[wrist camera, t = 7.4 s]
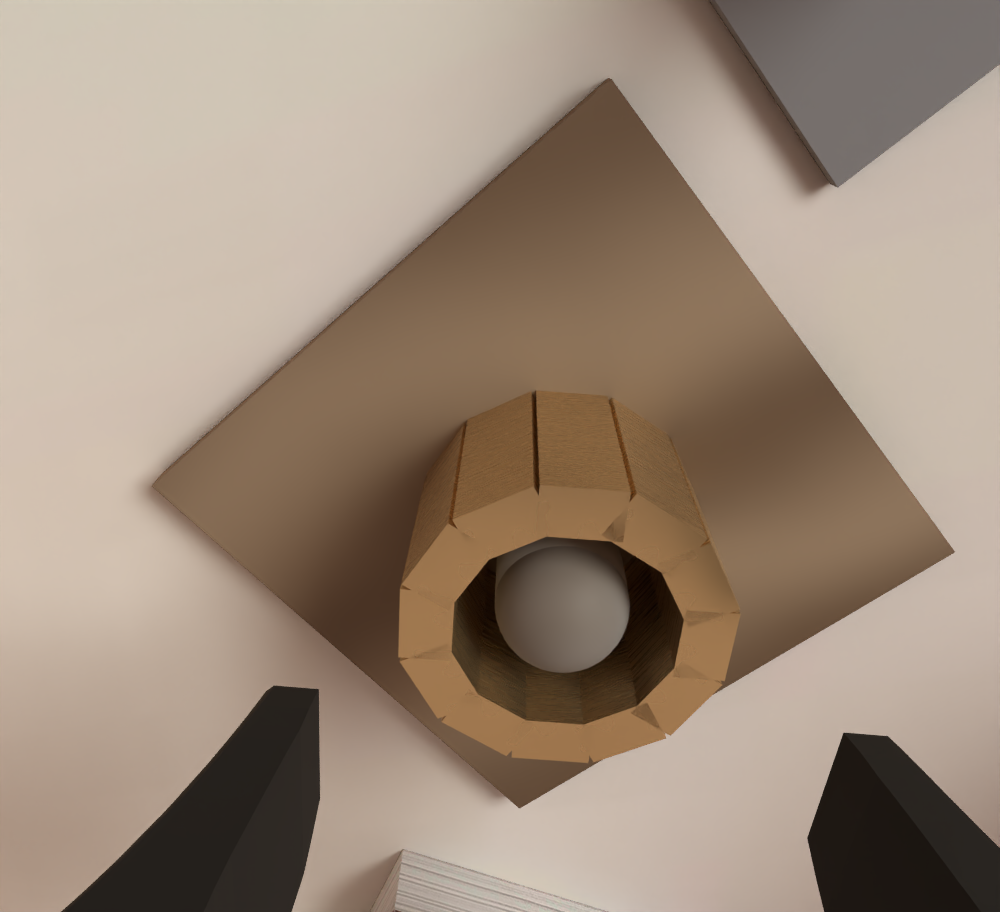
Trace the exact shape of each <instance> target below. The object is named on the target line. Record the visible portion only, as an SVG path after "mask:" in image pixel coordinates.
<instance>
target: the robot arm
mask: <svg viewBox="0 0 1000 912" xmlns="http://www.w3.org/2000/svg"><path fill="white" fill-rule="evenodd" d="M319 801H320V765H319V689H308V688H296V687H284V686H273V687H272V688H270V689H269V690H267V691H266V692H265V694H264V695H263V696H262V697H261V699H260V700H259V701H258V703H257V704H256V705H255V707H254V708H253V709H252V711H251V712H250V713H249V714H248V716H247V717H246V718H245V720H244V721H243V722H242V723H241V725H240V726H239V727H238V728H237V730H236V731H235V732H234V733H233V734H232V736H231V737H230V738H229V739H228V741H227V742H226V743H225V744H224V745H223V747H222V748H221V749H220V750H219V751H218V752H217V754H216V755H215V756H214V757H213V758H212V760H211V761H210V762H209V763H208V764H207V765H206V766H205V768H204V769H203V770H202V771H201V772H200V773H199V774H198V775H197V777H196V778H195V779H194V780H193V781H192V782H191V783H190V784H189V786H188V787H187V788H186V789H185V790H184V791H183V792H182V793H181V794H180V796H179V797H178V798H177V799H176V800H175V801H174V802H173V803H172V804H171V806H170V807H169V808H168V809H167V810H166V811H165V812H164V813H163V814H162V815H161V816H160V817H159V818H158V819H157V820H156V821H155V822H154V823H153V824H152V825H151V826H150V827H149V828H148V829H147V830H146V831H145V832H144V833H143V834H142V835H141V836H140V837H139V838H138V839H137V840H136V842H135V843H134V844H133V845H132V846H131V847H130V848H129V849H128V850H127V851H126V852H125V853H124V854H123V855H122V856H121V857H120V858H119V859H118V860H117V861H116V862H115V863H114V864H113V865H112V866H111V867H109V868H108V869H107V870H106V871H105V872H104V873H103V874H102V875H101V876H100V877H99V878H98V879H97V880H96V881H95V882H94V883H93V884H91V885H90V886H89V887H88V888H87V889H86V890H85V891H84V892H83V893H82V894H81V895H79V896H78V897H77V898H76V899H75V900H74V901H73V902H72V903H71V904H69V905H68V906H67V907H66V908H65V909H64V910H63V911H61V912H291V911H292V908H293V905H294V902H295V899H296V896H297V893H298V890H299V887H300V884H301V881H302V877H303V874H304V870H305V866H306V861H307V857H308V852H309V848H310V843H311V839H312V834H313V829H314V824H315V820H316V815H317V810H318V805H319ZM808 843H809V848H810V852H811V857H812V861H813V866H814V871H815V875H816V880H817V884H818V888H819V892H820V896H821V900H822V904H823V908H824V912H1000V848H999V847H998V846H997V845H996V844H995V843H994V842H993V841H992V840H991V839H990V838H989V837H988V836H987V835H986V834H985V833H984V832H983V831H982V830H981V829H980V828H979V827H978V826H977V825H976V824H975V823H974V822H973V821H972V820H971V819H970V818H969V817H968V816H967V815H966V814H965V813H964V812H963V811H962V810H961V809H960V808H959V807H958V806H957V805H956V804H955V803H954V802H953V801H952V800H951V799H950V798H949V797H948V796H947V795H946V794H945V793H944V792H943V791H942V790H941V789H940V788H939V787H938V786H937V785H936V784H935V783H934V781H933V780H932V779H931V778H930V777H929V776H928V775H927V774H926V773H925V772H924V771H923V770H922V769H921V768H920V767H919V766H918V765H917V764H916V763H915V762H914V761H913V760H912V759H911V758H910V757H909V756H908V755H907V754H906V753H905V752H904V751H903V750H902V749H901V748H900V747H899V746H897V745H896V744H895V743H894V742H893V741H892V740H891V739H890V738H889V737H888V736H878V735H866V734H853V733H843V736H842V739H841V742H840V745H839V748H838V751H837V754H836V756H835V759H834V762H833V765H832V768H831V771H830V774H829V777H828V780H827V783H826V786H825V788H824V791H823V794H822V797H821V800H820V803H819V806H818V809H817V812H816V815H815V817H814V820H813V823H812V826H811V829H810V832H809V835H808Z"/></svg>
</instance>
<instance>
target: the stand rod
mask: <svg viewBox="0 0 1000 912" xmlns="http://www.w3.org/2000/svg"><path fill="white" fill-rule="evenodd" d="M709 1H710V2H711V4H712V5H713V7H714V8H715V10H716V11H717V13H718V14H719V16H720V17H721V19H722V20H723V22H724V23H725V25H726V26H727V28H728V29H729V31H730V32H731V34H732V35H733V37H734V39H735V40H736V42H737V43H738V45H739V46H740V48H741V49H742V51H743V52H744V54H745V55H746V57H747V58H748V60H749V61H750V63H751V64H752V66H753V67H754V69H755V70H756V72H757V73H758V75H759V76H760V78H761V79H762V81H763V82H764V84H765V86H766V87H767V89H768V90H769V92H770V93H771V95H772V96H773V98H774V99H775V101H776V102H777V104H778V105H779V107H780V108H781V110H782V111H783V113H784V114H785V116H786V117H787V119H788V120H789V122H790V123H791V125H792V126H793V128H794V129H795V131H796V133H797V134H798V136H799V137H800V139H801V140H802V142H803V143H804V145H805V146H806V148H807V149H808V151H809V152H810V154H811V155H812V157H813V158H814V160H815V161H816V163H817V164H818V166H819V167H820V169H821V170H822V172H823V173H824V175H825V176H826V178H827V180H828V181H829V183H830V184H831V185H834V186H836V187H839V186H840V185H842V184H843V183H844V182H846V181H847V180H848V179H850V178H851V177H852V176H853V175H855V174H856V173H857V172H859V171H860V170H861V169H863V168H864V167H865V166H867V165H868V164H869V163H871V162H872V161H873V160H874V159H876V158H877V157H878V156H880V155H881V154H882V153H884V152H885V151H886V150H888V149H889V148H890V147H892V146H893V145H894V144H895V143H897V142H898V141H899V140H901V139H902V138H903V137H905V136H906V135H907V134H909V133H910V132H911V131H913V130H914V129H915V128H916V127H918V126H919V125H920V124H922V123H923V122H924V121H926V120H927V119H928V118H930V117H931V116H932V115H934V114H935V113H936V112H938V111H939V110H940V109H941V108H943V107H944V106H945V105H947V104H948V103H949V102H951V101H952V100H953V99H955V98H956V97H957V96H959V95H960V94H961V93H962V92H964V91H965V90H966V89H968V88H969V87H970V86H972V85H973V84H974V83H976V82H977V81H978V80H980V79H981V78H982V77H983V76H985V75H986V74H987V73H989V72H990V71H991V70H993V69H994V68H995V67H997V66H998V65H999V64H1000V0H709Z"/></svg>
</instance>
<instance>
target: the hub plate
mask: <svg viewBox="0 0 1000 912" xmlns="http://www.w3.org/2000/svg"><path fill="white" fill-rule="evenodd" d="M536 390H538V391H551V392H564V393H578V394H591V395H604V396H608V400H610V399H611V398H614V399H615V400H617V401H618V402H620V403H621V404H623V405H624V406H626V407H627V408H629V409H630V410H632V411H633V412H635V413H636V414H638V415H639V416H641V417H642V418H644V419H645V420H647V421H648V422H650V423H651V424H653V425H654V426H656V427H657V428H659V429H660V430H662V431H663V432H665V433H666V434H668V436H669V438H671V439H672V442H673V444H674V446H675V449H676V451H677V453H678V455H679V458H680V460H681V462H682V465H683V467H684V469H685V471H686V474H687V476H688V478H689V481H690V483H691V485H692V487H693V490H694V492H695V494H696V497H697V500H698V502H699V505H700V507H701V510H702V512H703V515H704V518H705V520H706V523H707V525H708V528H709V530H710V533H711V536H712V538H713V541H714V543H715V546H716V548H717V551H718V554H719V556H720V559H721V561H722V564H723V566H724V569H725V572H726V574H727V577H728V579H729V582H730V584H731V587H732V590H733V592H734V595H735V597H736V600H737V602H738V605H739V608H740V610H739V611H740V614H741V615H740V619H739V623H738V627H737V632H736V636H735V640H734V644H733V648H732V653H731V657H730V661H729V665H728V669H727V673H726V678H725V681H721V683H722V686H721V687H720V688H719V689H718V690H717V691H716V692H715V693H717V692H718V691H720V690H722V689H723V688H725V687H727V686H728V685H730V684H732V683H734V682H735V681H737V680H739V679H740V678H742V677H744V676H745V675H747V674H749V673H751V672H752V671H754V670H756V669H757V668H759V667H761V666H762V665H764V664H766V663H768V662H769V661H771V660H773V659H774V658H776V657H778V656H779V655H781V654H783V653H785V652H786V651H788V650H790V649H791V648H793V647H795V646H796V645H798V644H800V643H801V642H803V641H805V640H807V639H808V638H810V637H812V636H813V635H815V634H817V633H818V632H820V631H822V630H824V629H825V628H827V627H829V626H830V625H832V624H834V623H835V622H837V621H839V620H841V619H842V618H844V617H846V616H847V615H849V614H851V613H852V612H854V611H856V610H858V609H859V608H861V607H863V606H864V605H866V604H868V603H869V602H871V601H873V600H875V599H876V598H878V597H880V596H881V595H883V594H885V593H886V592H888V591H890V590H892V589H893V588H895V587H897V586H898V585H900V584H902V583H903V582H905V581H907V580H909V579H910V578H912V577H914V576H915V575H917V574H919V573H920V572H922V571H924V570H926V569H927V568H929V567H931V566H932V565H934V564H936V563H937V562H939V561H941V560H943V559H944V558H946V557H948V556H949V555H951V554H953V553H954V552H955V551H954V550H953V549H952V547H951V546H950V544H949V543H948V542H947V540H946V539H945V538H944V536H943V535H942V533H941V532H940V531H939V529H938V528H937V527H936V525H935V524H934V522H933V521H932V520H931V518H930V517H929V516H928V514H927V513H926V511H925V510H924V509H923V507H922V506H921V505H920V503H919V502H918V500H917V499H916V498H915V496H914V495H913V494H912V492H911V491H910V489H909V488H908V487H907V485H906V484H905V483H904V481H903V480H902V478H901V477H900V476H899V474H898V473H897V472H896V470H895V469H894V467H893V466H892V465H891V463H890V462H889V461H888V459H887V458H886V456H885V455H884V454H883V452H882V451H881V450H880V448H879V447H878V445H877V444H876V443H875V441H874V440H873V438H872V437H871V436H870V434H869V433H868V432H867V430H866V429H865V427H864V426H863V425H862V423H861V422H860V421H859V419H858V418H857V416H856V415H855V414H854V412H853V411H852V410H851V408H850V407H849V405H848V404H847V403H846V401H845V400H844V399H843V397H842V396H841V394H840V393H839V392H838V390H837V389H836V388H835V386H834V385H833V383H832V382H831V381H830V379H829V378H828V377H827V375H826V374H825V372H824V371H823V370H822V368H821V367H820V366H819V364H818V363H817V361H816V360H815V359H814V357H813V356H812V355H811V353H810V352H809V350H808V349H807V348H806V346H805V345H804V344H803V342H802V341H801V339H800V338H799V337H798V335H797V334H796V333H795V331H794V330H793V328H792V327H791V326H790V324H789V323H788V322H787V320H786V319H785V317H784V316H783V315H782V313H781V312H780V311H779V309H778V308H777V306H776V305H775V304H774V302H773V301H772V300H771V298H770V297H769V295H768V294H767V293H766V291H765V290H764V289H763V287H762V286H761V284H760V283H759V282H758V280H757V279H756V278H755V276H754V275H753V273H752V272H751V271H750V269H749V268H748V266H747V265H746V264H745V262H744V261H743V260H742V258H741V257H740V255H739V254H738V253H737V251H736V250H735V249H734V247H733V246H732V244H731V243H730V242H729V240H728V239H727V238H726V236H725V235H724V233H723V232H722V231H721V229H720V228H719V227H718V225H717V224H716V222H715V221H714V220H713V218H712V217H711V216H710V214H709V213H708V211H707V210H706V209H705V207H704V206H703V205H702V203H701V202H700V200H699V199H698V198H697V196H696V195H695V194H694V192H693V191H692V189H691V188H690V187H689V185H688V184H687V183H686V181H685V180H684V178H683V177H682V176H681V174H680V173H679V172H678V170H677V169H676V167H675V166H674V165H673V163H672V162H671V161H670V159H669V158H668V156H667V155H666V154H665V152H664V151H663V150H662V148H661V147H660V145H659V144H658V143H657V141H656V140H655V139H654V137H653V136H652V134H651V133H650V132H649V130H648V129H647V128H646V126H645V125H644V123H643V122H642V121H641V119H640V118H639V117H638V115H637V114H636V112H635V111H634V110H633V108H632V107H631V106H630V104H629V103H628V101H627V100H626V99H625V97H624V96H623V94H622V93H621V92H620V90H619V89H618V88H617V86H616V85H615V83H614V82H613V81H612V79H609V78H608V79H606V80H605V81H604V82H603V83H602V84H601V85H600V86H599V87H597V88H596V89H595V90H594V91H593V92H592V93H591V94H590V95H588V96H587V97H586V98H585V99H584V100H583V101H582V102H581V103H579V104H578V105H577V106H576V107H575V108H574V109H573V110H572V111H570V112H569V113H568V114H567V115H566V116H565V117H564V118H563V119H561V120H560V121H559V122H558V123H557V124H556V125H555V126H553V127H552V128H551V129H550V130H549V131H548V132H547V133H546V134H544V135H543V136H542V137H541V138H540V139H539V140H538V141H537V142H535V143H534V144H533V145H532V146H531V147H530V148H529V149H528V150H526V151H525V152H524V153H523V154H522V155H521V156H520V157H519V158H517V159H516V160H515V161H514V162H513V163H512V164H511V165H510V166H508V167H507V168H506V169H505V170H504V171H503V172H502V173H500V174H499V175H498V176H497V177H496V178H495V179H494V180H493V181H491V182H490V183H489V184H488V185H487V186H486V187H485V188H484V189H482V190H481V191H480V192H479V193H478V194H477V195H476V196H475V197H473V198H472V199H471V200H470V201H469V202H468V203H467V204H466V205H464V206H463V207H462V208H461V209H460V210H459V211H458V212H457V213H455V214H454V215H453V216H452V217H451V218H450V219H449V220H448V221H446V222H445V223H444V224H443V225H442V226H441V227H440V228H438V229H437V230H436V231H435V232H434V233H433V234H432V235H431V236H429V237H428V238H427V239H426V240H425V241H424V242H423V243H422V244H420V245H419V246H418V247H417V248H416V249H415V250H414V251H413V252H411V253H410V254H409V255H408V256H407V257H406V258H405V259H404V260H402V261H401V262H400V263H399V264H398V265H397V266H396V267H395V268H393V269H392V270H391V271H390V272H389V273H388V274H387V275H385V276H384V277H383V278H382V279H381V280H380V281H379V282H378V283H376V284H375V285H374V286H373V287H372V288H371V289H370V290H369V291H367V292H366V293H365V294H364V295H363V296H362V297H361V298H360V299H358V300H357V301H356V302H355V303H354V304H353V305H352V306H351V307H349V308H348V309H347V310H346V311H345V312H344V313H343V314H342V315H340V316H339V317H338V318H337V319H336V320H335V321H334V322H332V323H331V324H330V325H329V326H328V327H327V328H326V329H325V330H323V331H322V332H321V333H320V334H319V335H318V336H317V337H316V338H314V339H313V340H312V341H311V342H310V343H309V344H308V345H307V346H305V347H304V348H303V349H302V350H301V351H300V352H299V353H298V354H296V355H295V356H294V357H293V358H292V359H291V360H290V361H289V362H287V363H286V364H285V365H284V366H283V367H282V368H281V369H279V370H278V371H277V372H276V373H275V374H274V375H273V376H272V377H270V378H269V379H268V380H267V381H266V382H265V383H264V384H263V385H261V386H260V387H259V388H258V389H257V390H256V391H255V392H254V393H252V394H251V395H250V396H249V397H248V398H247V399H246V400H245V401H243V402H242V403H241V404H240V405H239V406H238V407H237V408H236V409H234V410H233V411H232V412H231V413H230V414H229V415H228V416H227V417H225V418H224V419H223V420H222V421H221V422H220V423H219V424H217V425H216V426H215V427H214V428H213V429H212V430H211V431H210V432H208V433H207V434H206V435H205V436H204V437H203V438H202V439H201V440H199V441H198V442H197V443H196V444H195V445H194V446H193V447H192V448H190V449H189V450H188V451H187V452H186V453H185V454H184V455H183V456H181V457H180V458H179V459H178V460H177V461H176V462H175V463H174V464H172V465H171V466H170V467H169V468H168V469H167V470H166V471H164V472H163V473H162V475H161V476H160V477H159V478H158V479H157V480H156V482H155V483H154V484H153V485H152V487H153V488H155V489H156V490H157V491H158V492H159V493H160V494H161V495H163V496H164V497H165V498H166V499H167V500H168V501H169V502H170V503H172V504H173V505H174V506H175V507H176V508H177V509H178V510H180V511H181V512H182V513H183V514H184V515H185V516H186V517H188V518H189V519H190V520H191V521H192V522H193V523H194V524H196V525H197V526H198V527H199V528H200V529H201V530H202V531H204V532H205V533H206V534H207V535H208V536H209V537H210V538H212V539H213V540H214V541H215V542H216V543H217V544H218V545H220V546H221V547H222V548H223V549H224V550H225V551H226V552H228V553H229V554H230V555H231V556H232V557H233V558H234V559H236V560H237V561H238V562H239V563H240V564H241V565H242V566H243V567H245V568H246V569H247V570H248V571H249V572H250V573H251V574H253V575H254V576H255V577H256V578H257V579H258V580H259V581H261V582H262V583H263V584H264V585H265V586H266V587H267V588H269V589H270V590H271V591H272V592H273V593H274V594H275V595H277V596H278V597H279V598H280V599H281V600H282V601H283V602H285V603H286V604H287V605H288V606H289V607H290V608H291V609H293V610H294V611H295V612H296V613H297V614H298V615H299V616H301V617H302V618H303V619H304V620H305V621H306V622H307V623H308V624H310V625H311V626H312V627H313V628H314V629H315V630H316V631H318V632H319V633H320V634H321V635H322V636H323V637H324V638H326V639H327V640H328V641H329V642H330V643H331V644H332V645H334V646H335V647H336V648H337V649H338V650H339V651H340V652H342V653H343V654H344V655H345V656H346V657H347V658H348V659H350V660H351V661H352V662H353V663H354V664H355V665H356V666H358V667H359V668H360V669H361V670H362V671H363V672H364V673H366V674H367V675H368V676H369V677H370V678H371V679H372V680H373V681H375V682H376V683H377V684H378V685H379V686H380V687H381V688H383V689H384V690H385V691H386V692H387V693H388V694H389V695H391V696H392V697H393V698H394V699H395V700H396V701H397V702H399V703H400V704H401V705H402V706H403V707H404V708H405V709H407V710H408V711H409V712H410V713H411V714H412V715H413V716H415V717H416V718H417V719H418V720H419V721H420V722H421V723H423V724H424V725H425V726H426V727H427V728H428V729H429V730H431V731H432V732H433V733H434V734H435V735H436V736H437V737H439V738H440V739H441V740H442V741H443V742H444V743H445V744H446V745H448V746H449V747H450V748H451V749H452V750H453V751H454V752H456V753H457V754H458V755H459V756H460V757H461V758H462V759H464V760H465V761H466V762H467V763H468V764H469V765H470V766H472V767H473V768H474V769H475V770H476V771H477V772H478V773H480V774H481V775H482V776H483V777H484V778H485V779H486V780H488V781H489V782H490V783H491V784H492V785H493V786H494V787H496V788H497V789H498V790H499V791H500V792H501V793H502V794H504V795H505V796H506V797H507V798H508V799H509V800H510V801H511V802H513V803H514V804H515V805H516V806H517V807H518V808H521V807H523V806H525V805H526V804H528V803H530V802H531V801H533V800H535V799H536V798H538V797H540V796H541V795H543V794H545V793H547V792H548V791H550V790H552V789H553V788H555V787H557V786H558V785H560V784H562V783H564V782H565V781H567V780H569V779H570V778H572V777H574V776H575V775H577V774H579V773H581V772H582V771H584V770H586V769H587V768H589V767H591V766H592V765H594V764H596V763H598V762H599V761H601V760H599V761H596V762H593V761H592V759H591V757H590V755H589V761H588V763H581V762H567V761H553V760H539V759H525V758H511V756H512V751H511V752H510V753H509V754H508V755H507V756H505V755H503V754H501V753H500V752H498V751H496V750H494V749H492V748H490V747H488V746H486V745H484V744H482V743H481V742H479V741H477V740H475V739H473V738H471V737H469V736H467V735H465V734H463V733H461V732H460V731H458V730H456V729H454V728H452V727H450V726H448V725H446V724H444V723H442V722H441V721H442V717H441V718H437V717H436V715H435V714H434V712H433V711H432V709H431V708H430V706H429V705H428V703H427V702H426V700H425V699H424V697H423V696H422V694H421V693H420V691H419V690H418V688H417V687H416V685H415V684H414V682H413V681H412V679H411V678H410V676H409V675H408V673H407V672H406V670H405V669H404V667H403V666H402V664H401V663H400V658H401V657H398V650H399V609H400V587H401V583H402V578H403V574H404V569H405V565H406V561H407V556H408V552H409V547H410V543H411V539H412V534H413V530H414V525H415V521H416V517H417V512H418V508H419V503H420V499H421V495H422V490H423V486H424V481H425V478H426V475H427V473H428V471H429V470H430V468H431V467H432V466H433V464H434V463H435V462H436V460H437V459H438V457H439V456H440V455H441V453H442V452H443V450H444V449H445V448H446V446H447V445H448V443H449V442H450V441H451V439H452V438H453V437H454V435H455V434H456V432H457V431H458V430H459V428H460V427H461V425H462V424H463V423H466V424H467V419H469V418H472V417H474V416H476V415H478V414H481V413H483V412H485V411H487V410H490V409H492V408H494V407H497V406H499V405H501V404H503V403H506V402H508V401H510V400H512V399H515V398H517V397H519V396H521V395H524V394H526V393H528V392H530V391H531V392H532V394H533V396H534V398H535V397H536ZM633 556H634V555H632V554H631V553H629V552H627V551H626V550H624V549H623V548H621V547H619V546H618V545H616V544H614V543H613V542H611V541H599V540H585V539H572V538H559V537H544V538H542V539H539V540H537V541H534V542H532V543H529V544H527V545H524V546H522V547H519V548H517V549H514V550H512V551H509V552H507V553H504V554H502V555H499V556H497V557H494V558H492V559H489V560H488V561H487V563H486V564H485V565H486V567H487V568H488V569H490V570H491V571H493V572H495V573H496V584H495V614H496V619H497V623H498V626H499V629H500V631H501V633H502V636H503V637H504V639H505V641H506V642H507V644H508V645H509V647H510V648H511V649H512V650H513V651H514V652H515V653H516V654H517V655H518V656H519V657H520V658H521V659H523V660H524V661H526V662H527V663H529V664H531V665H533V666H535V667H537V668H539V669H542V670H545V671H550V672H556V673H569V672H576V671H581V670H584V669H587V668H589V667H592V666H593V665H595V664H597V663H599V662H600V661H601V660H603V659H604V658H606V657H607V656H608V655H609V654H610V653H611V652H612V651H613V650H614V648H615V647H616V646H617V644H618V643H619V641H620V640H621V638H622V636H623V634H624V632H625V629H626V627H627V623H628V619H629V611H630V600H629V592H628V586H627V581H626V576H625V571H624V566H625V565H626V564H627V563H628V562H629V561H630V559H631V558H632V557H633ZM715 693H714V694H715ZM602 760H603V759H602Z"/></svg>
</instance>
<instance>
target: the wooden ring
mask: <svg viewBox="0 0 1000 912" xmlns="http://www.w3.org/2000/svg"><path fill="white" fill-rule="evenodd" d="M544 537H559V538H572V539H585V540H599V541H611V542H613V543H614V544H616V545H618V546H619V547H621V548H623V549H624V550H626V551H627V552H629V553H631V554H632V555H634V556H633V557H632V558H631V559H630V561H629V562H628V563H627V564H626V565H625V566H624V571H625V576H626V581H627V586H628V592H629V600H630V611H629V619H628V623H627V627H626V629H625V632H624V634H623V636H622V638H621V640H620V641H619V643H618V644H617V646H616V647H615V648H614V650H613V651H612V652H611V653H610V654H609V655H608V656H607V657H606V658H604V659H603V660H601V661H600V662H599V663H597V664H595V665H593V666H592V667H589V668H587V669H584V670H581V671H576V672H569V673H556V672H550V671H545V670H542V669H539V668H537V667H535V666H533V665H531V664H529V663H527V662H526V661H524V660H523V659H521V658H520V657H519V656H518V655H517V654H516V653H515V652H514V651H513V650H512V649H511V648H510V647H509V645H508V644H507V642H506V641H505V639H504V637H503V636H502V633H501V631H500V629H499V626H498V623H497V619H496V614H495V584H496V573H495V572H493V571H491V570H490V569H488V568H487V567H486V565H485V564H486V563H487V561H488V560H489V559H492V558H494V557H497V556H499V555H502V554H504V553H507V552H509V551H512V550H514V549H517V548H519V547H522V546H524V545H527V544H529V543H532V542H534V541H537V540H539V539H542V538H544ZM739 610H740V608H739V605H738V602H737V600H736V597H735V595H734V592H733V590H732V587H731V584H730V582H729V579H728V577H727V574H726V572H725V569H724V566H723V564H722V561H721V559H720V556H719V554H718V551H717V548H716V546H715V543H714V541H713V538H712V536H711V533H710V530H709V528H708V525H707V523H706V520H705V518H704V515H703V512H702V510H701V507H700V505H699V502H698V500H697V497H696V494H695V492H694V490H693V487H692V485H691V483H690V481H689V478H688V476H687V474H686V471H685V469H684V467H683V465H682V462H681V460H680V458H679V455H678V453H677V451H676V449H675V446H674V444H673V442H672V439H671V438H669V436H668V434H666V433H665V432H663V431H662V430H660V429H659V428H657V427H656V426H654V425H653V424H651V423H650V422H648V421H647V420H645V419H644V418H642V417H641V416H639V415H638V414H636V413H635V412H633V411H632V410H630V409H629V408H627V407H626V406H624V405H623V404H621V403H620V402H618V401H617V400H615V399H614V398H611V399H610V400H608V396H604V395H591V394H578V393H564V392H551V391H538V390H536V397H535V398H534V396H533V394H532V392H531V391H530V392H528V393H526V394H524V395H521V396H519V397H517V398H515V399H512V400H510V401H508V402H506V403H503V404H501V405H499V406H497V407H494V408H492V409H490V410H487V411H485V412H483V413H481V414H478V415H476V416H474V417H472V418H469V419H467V424H466V423H463V424H462V425H461V427H460V428H459V430H458V431H457V432H456V434H455V435H454V437H453V438H452V439H451V441H450V442H449V443H448V445H447V446H446V448H445V449H444V450H443V452H442V453H441V455H440V456H439V457H438V459H437V460H436V462H435V463H434V464H433V466H432V467H431V468H430V470H429V471H428V473H427V475H426V478H425V481H424V486H423V490H422V495H421V499H420V503H419V508H418V512H417V517H416V521H415V525H414V530H413V534H412V539H411V543H410V547H409V552H408V556H407V561H406V565H405V569H404V574H403V578H402V583H401V587H400V609H399V650H398V657H401V658H400V663H401V664H402V666H403V667H404V669H405V670H406V672H407V673H408V675H409V676H410V678H411V679H412V681H413V682H414V684H415V685H416V687H417V688H418V690H419V691H420V693H421V694H422V696H423V697H424V699H425V700H426V702H427V703H428V705H429V706H430V708H431V709H432V711H433V712H434V714H435V715H436V717H437V718H441V717H442V721H441V722H442V723H444V724H446V725H448V726H450V727H452V728H454V729H456V730H458V731H460V732H461V733H463V734H465V735H467V736H469V737H471V738H473V739H475V740H477V741H479V742H481V743H482V744H484V745H486V746H488V747H490V748H492V749H494V750H496V751H498V752H500V753H501V754H503V755H505V756H507V755H508V754H509V753H510V752H511V751H512V756H511V758H525V759H539V760H553V761H567V762H581V763H588V761H589V755H590V757H591V759H592V761H593V762H596V761H599V760H602V759H605V758H608V757H611V756H614V755H617V754H620V753H623V752H626V751H629V750H632V749H635V748H638V747H641V746H644V745H647V744H650V743H653V742H656V741H659V740H662V739H665V738H666V736H665V733H667V734H669V735H671V734H673V733H674V732H675V731H676V730H677V729H678V728H679V727H680V726H681V725H682V724H683V723H684V722H685V721H686V720H687V719H688V718H689V717H690V716H691V715H692V714H693V713H694V712H695V711H696V710H697V709H698V708H699V707H700V706H701V705H702V704H703V703H704V702H705V701H706V700H707V699H709V698H710V697H711V696H712V695H713V694H714V693H715V692H716V691H717V690H718V689H719V688H720V687H721V686H722V683H721V681H725V678H726V673H727V669H728V665H729V661H730V657H731V653H732V648H733V644H734V640H735V636H736V632H737V627H738V623H739V619H740V615H741V614H740V611H739Z"/></svg>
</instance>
